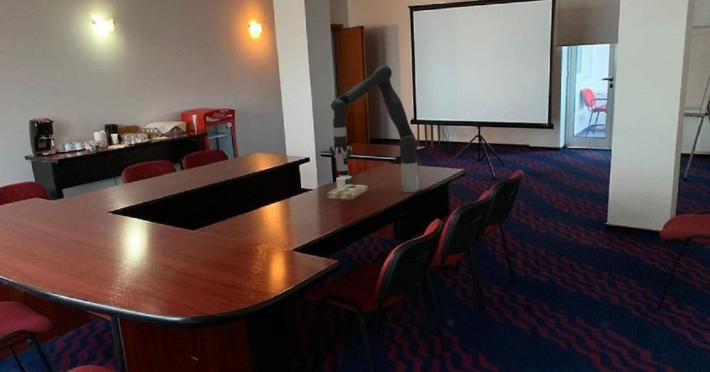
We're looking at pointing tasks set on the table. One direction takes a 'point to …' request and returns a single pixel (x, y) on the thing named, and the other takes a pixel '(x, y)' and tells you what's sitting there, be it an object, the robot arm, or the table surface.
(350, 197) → the pocket board
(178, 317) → the table surface
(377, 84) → the robot arm
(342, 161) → the metal block
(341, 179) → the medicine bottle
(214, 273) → the table surface
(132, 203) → the table surface
